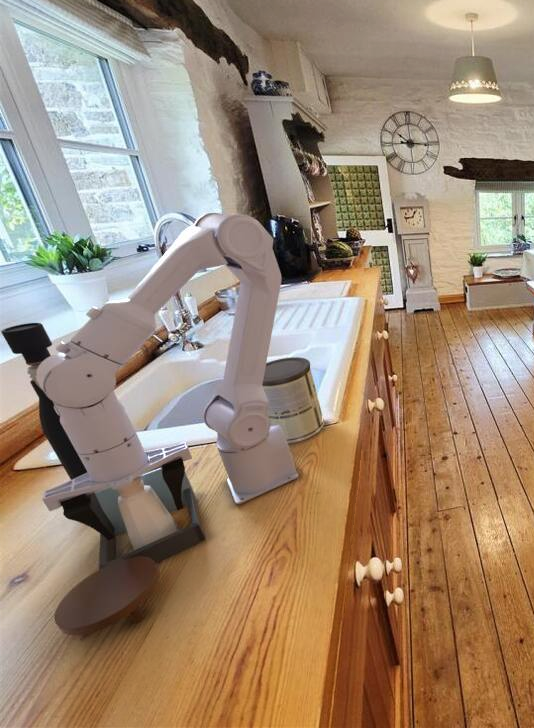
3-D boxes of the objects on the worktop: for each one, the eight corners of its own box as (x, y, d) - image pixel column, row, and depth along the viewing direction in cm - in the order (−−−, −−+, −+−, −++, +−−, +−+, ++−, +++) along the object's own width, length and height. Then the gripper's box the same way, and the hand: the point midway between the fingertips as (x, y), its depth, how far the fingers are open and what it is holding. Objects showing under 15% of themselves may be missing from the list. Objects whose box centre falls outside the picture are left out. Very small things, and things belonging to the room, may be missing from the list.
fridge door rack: (196, 497, 67) (179, 458, 64) (207, 539, 59) (188, 496, 56) (107, 535, 61) (83, 493, 57) (106, 587, 53) (78, 542, 49)
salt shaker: (171, 548, 58) (140, 487, 54) (125, 559, 56) (90, 498, 52) (185, 520, 63) (159, 462, 58) (143, 529, 61) (113, 471, 57)
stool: (165, 565, 55) (154, 543, 54) (171, 613, 49) (159, 590, 48) (73, 610, 50) (58, 587, 48) (67, 670, 44) (49, 647, 42)
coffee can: (261, 432, 84) (241, 370, 78) (310, 410, 91) (295, 352, 86) (283, 451, 78) (263, 386, 72) (334, 426, 85) (319, 365, 79)
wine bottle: (146, 482, 71) (67, 319, 59) (110, 510, 65) (14, 335, 53) (113, 480, 72) (28, 319, 60) (74, 508, 66) (-29, 335, 54)
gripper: (19, 483, 46) (74, 569, 51) (179, 430, 54) (211, 508, 60) (28, 454, 50) (78, 535, 56) (173, 410, 59) (204, 484, 65)
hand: (146, 519), depth 58 cm, fingers open, 7 cm apart
